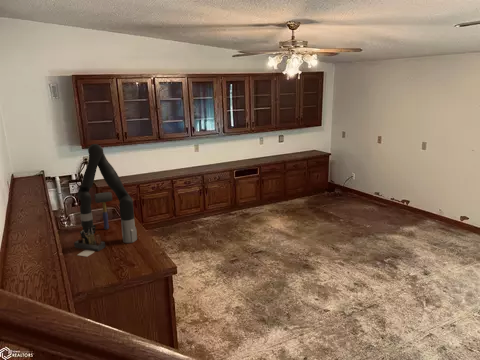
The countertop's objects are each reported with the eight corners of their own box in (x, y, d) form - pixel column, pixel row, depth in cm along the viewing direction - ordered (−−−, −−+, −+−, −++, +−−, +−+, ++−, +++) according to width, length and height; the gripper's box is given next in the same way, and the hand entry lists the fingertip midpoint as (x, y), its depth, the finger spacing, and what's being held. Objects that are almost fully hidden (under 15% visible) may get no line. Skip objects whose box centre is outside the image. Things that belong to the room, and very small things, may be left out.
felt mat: (94, 251, 251) (94, 251, 251) (87, 256, 243) (86, 256, 243) (85, 250, 253) (85, 249, 253) (77, 255, 246) (76, 254, 246)
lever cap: (94, 241, 258) (94, 233, 256) (90, 243, 254) (89, 235, 252) (88, 240, 260) (87, 232, 258) (83, 242, 255) (83, 234, 254)
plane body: (105, 247, 258) (103, 233, 256) (98, 251, 252) (97, 237, 249) (81, 243, 264) (80, 230, 261) (74, 247, 257) (73, 234, 255)
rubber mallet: (98, 232, 284) (94, 195, 277) (97, 228, 291) (93, 192, 283) (115, 229, 290) (112, 192, 282) (114, 226, 296) (110, 190, 288)
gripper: (84, 223, 245) (87, 246, 249) (98, 215, 258) (100, 238, 262) (74, 221, 247) (77, 245, 251) (89, 214, 260) (91, 237, 264)
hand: (89, 241), depth 257 cm, fingers closed on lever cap, 4 cm apart
